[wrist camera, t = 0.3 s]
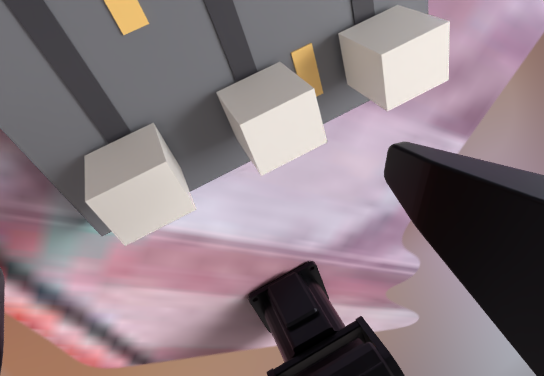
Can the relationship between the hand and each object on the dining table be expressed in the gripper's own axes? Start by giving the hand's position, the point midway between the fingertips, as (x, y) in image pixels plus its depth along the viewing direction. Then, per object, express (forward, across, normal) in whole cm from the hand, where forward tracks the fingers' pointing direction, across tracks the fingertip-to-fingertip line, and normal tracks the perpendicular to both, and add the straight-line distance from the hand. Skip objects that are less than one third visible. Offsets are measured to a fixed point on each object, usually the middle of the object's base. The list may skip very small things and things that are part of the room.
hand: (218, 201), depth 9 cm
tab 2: (+11, -12, +1) cm, 16 cm away
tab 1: (+11, +2, +5) cm, 12 cm away
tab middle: (+11, -5, +3) cm, 13 cm away
